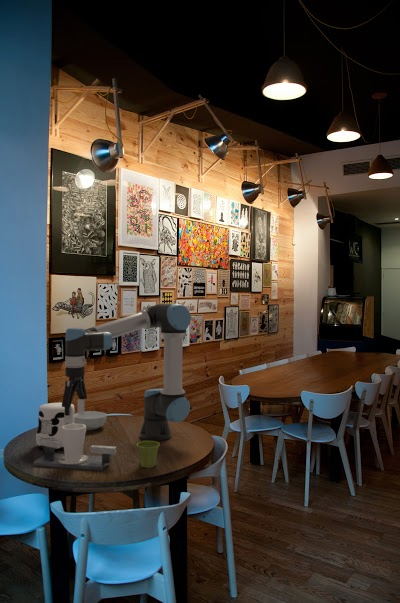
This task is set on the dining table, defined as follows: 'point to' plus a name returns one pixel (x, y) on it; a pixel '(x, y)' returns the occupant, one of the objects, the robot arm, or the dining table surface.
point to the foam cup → (73, 441)
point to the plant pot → (148, 453)
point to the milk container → (52, 422)
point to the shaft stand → (85, 463)
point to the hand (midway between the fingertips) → (74, 419)
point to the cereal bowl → (91, 419)
